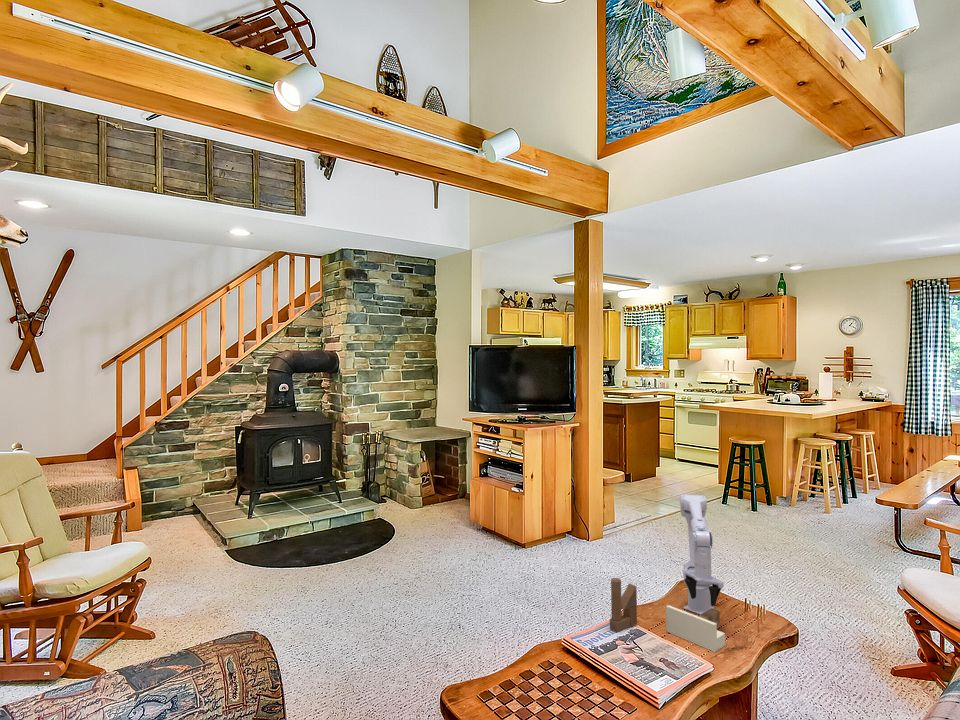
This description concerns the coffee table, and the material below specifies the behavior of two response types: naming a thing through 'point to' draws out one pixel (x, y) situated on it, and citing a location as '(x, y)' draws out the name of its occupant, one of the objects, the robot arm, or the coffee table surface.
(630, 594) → the brown upright shaped block
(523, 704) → the coffee table surface
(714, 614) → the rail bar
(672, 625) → the stepped cream panel
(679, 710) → the coffee table surface
